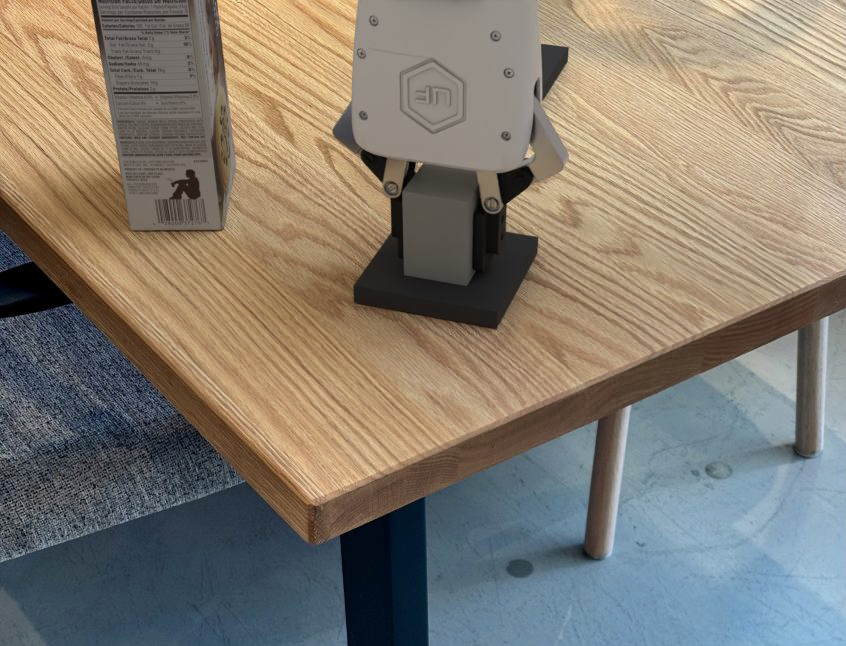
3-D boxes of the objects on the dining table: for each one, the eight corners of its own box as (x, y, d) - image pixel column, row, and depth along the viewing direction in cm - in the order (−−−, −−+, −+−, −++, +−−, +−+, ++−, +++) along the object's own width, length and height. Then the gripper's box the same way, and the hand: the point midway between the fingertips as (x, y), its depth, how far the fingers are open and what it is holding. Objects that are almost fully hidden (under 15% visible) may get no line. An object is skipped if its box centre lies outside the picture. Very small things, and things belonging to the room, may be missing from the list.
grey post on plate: (548, 233, 86) (554, 135, 81) (497, 329, 78) (500, 225, 73) (417, 212, 88) (415, 115, 84) (353, 302, 80) (348, 200, 75)
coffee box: (147, 167, 93) (109, -72, 82) (238, 166, 93) (212, -73, 82) (126, 232, 86) (82, -19, 76) (225, 231, 86) (195, -20, 76)
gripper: (272, -48, 68) (297, 262, 80) (590, -12, 64) (566, 310, 76) (327, -93, 73) (343, 205, 86) (624, -62, 69) (596, 246, 81)
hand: (448, 251), depth 81 cm, fingers closed on grey post on plate, 4 cm apart
